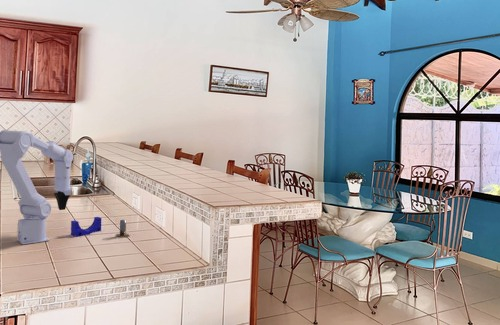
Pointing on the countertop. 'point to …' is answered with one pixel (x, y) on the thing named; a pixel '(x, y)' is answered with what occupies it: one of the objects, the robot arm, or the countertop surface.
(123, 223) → the post
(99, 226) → the cable clip
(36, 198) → the robot arm
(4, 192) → the countertop surface
